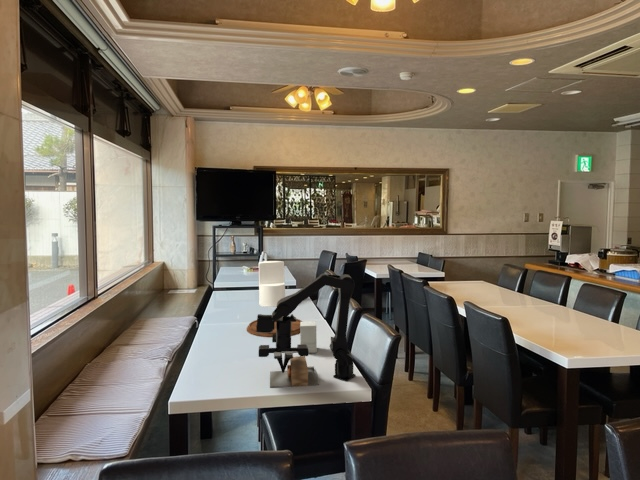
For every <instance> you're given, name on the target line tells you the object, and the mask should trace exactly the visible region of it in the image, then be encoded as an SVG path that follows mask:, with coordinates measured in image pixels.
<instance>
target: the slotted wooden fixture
mask: <svg viewBox="0 0 640 480" xmlns="http://www.w3.org/2000/svg"><path fill="white" fill-rule="evenodd" d="M289 365H291V377H289V378H288V377H287V370H285V371H284V373H282V370H275V371H274V370H272V371H269V388H270V389H271V388H286V387H287V388H289V387H291V388H292V387H307V386H319V385H320V382H319V379H318V375H317V372H316V368H314V374H308V367H309V366H308V363H307V359H306V356H300V355H298V356H293V358H292V359H290V360H289Z"/></svg>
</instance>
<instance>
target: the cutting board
mask: <svg viewBox="0 0 640 480" xmlns="http://www.w3.org/2000/svg"><path fill="white" fill-rule="evenodd" d="M281 318H283V317H281ZM300 322H304V321H303V320H300V319H299V318H296V322H292V323H291V337H292V336H296V335H300ZM256 325H257V319H255V320H253V321H251V322H250V323H249V324H248V325H247V327H246V332H247V333H248V334H250V335H252V336H256V337H262V338H272V334H276V322H275V329H274V330H273V331H272V332H271V333H257V332H256Z"/></svg>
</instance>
